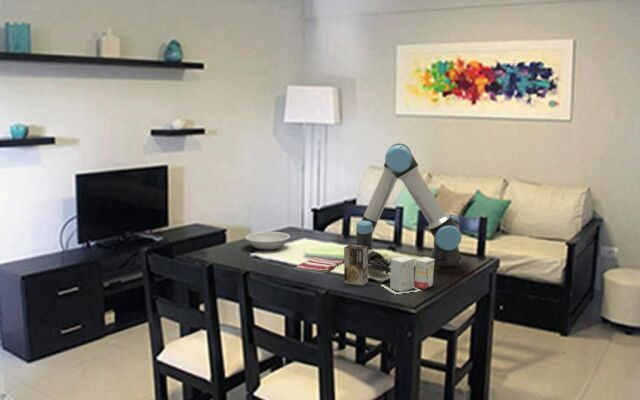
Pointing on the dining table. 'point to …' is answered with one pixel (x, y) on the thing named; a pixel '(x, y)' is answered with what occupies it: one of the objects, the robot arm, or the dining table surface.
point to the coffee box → (356, 264)
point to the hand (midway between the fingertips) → (397, 272)
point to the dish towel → (318, 265)
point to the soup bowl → (267, 239)
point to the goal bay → (400, 292)
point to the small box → (402, 274)
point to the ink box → (424, 272)
